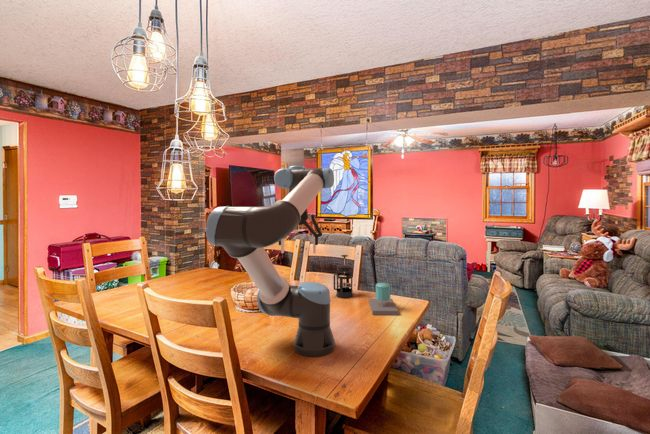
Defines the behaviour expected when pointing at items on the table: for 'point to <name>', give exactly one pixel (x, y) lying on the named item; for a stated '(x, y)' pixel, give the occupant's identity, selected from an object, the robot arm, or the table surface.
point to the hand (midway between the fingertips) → (298, 252)
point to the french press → (344, 288)
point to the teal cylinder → (383, 291)
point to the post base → (383, 307)
